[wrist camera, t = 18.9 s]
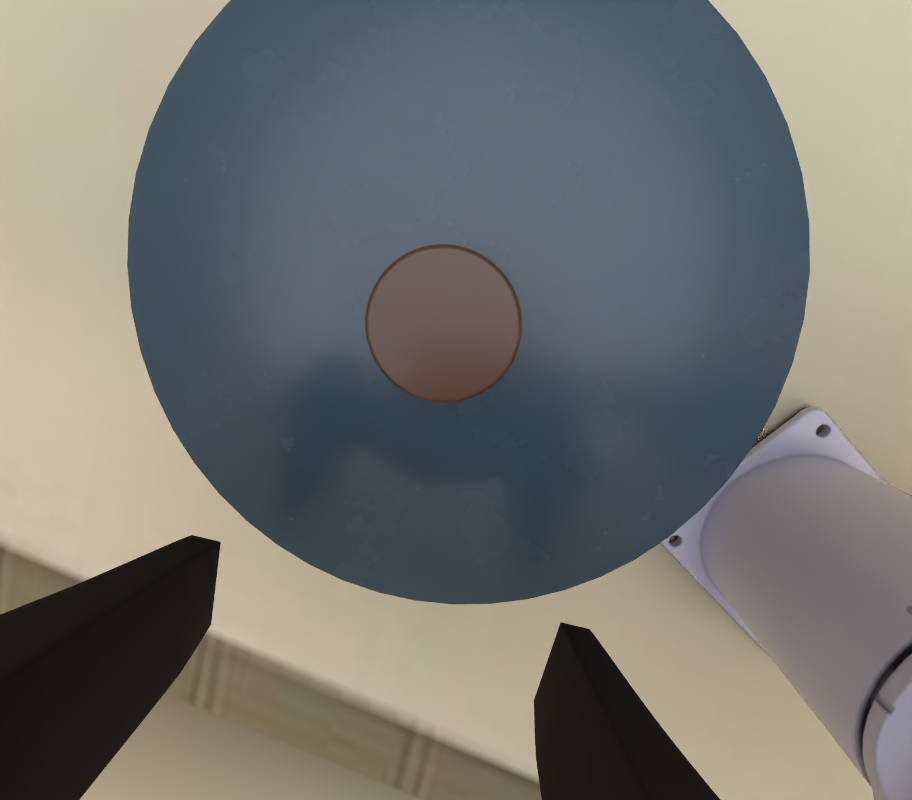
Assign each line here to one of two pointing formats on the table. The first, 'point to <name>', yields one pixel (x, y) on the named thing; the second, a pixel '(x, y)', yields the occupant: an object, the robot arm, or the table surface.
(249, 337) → the lid
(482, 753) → the table surface
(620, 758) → the robot arm
